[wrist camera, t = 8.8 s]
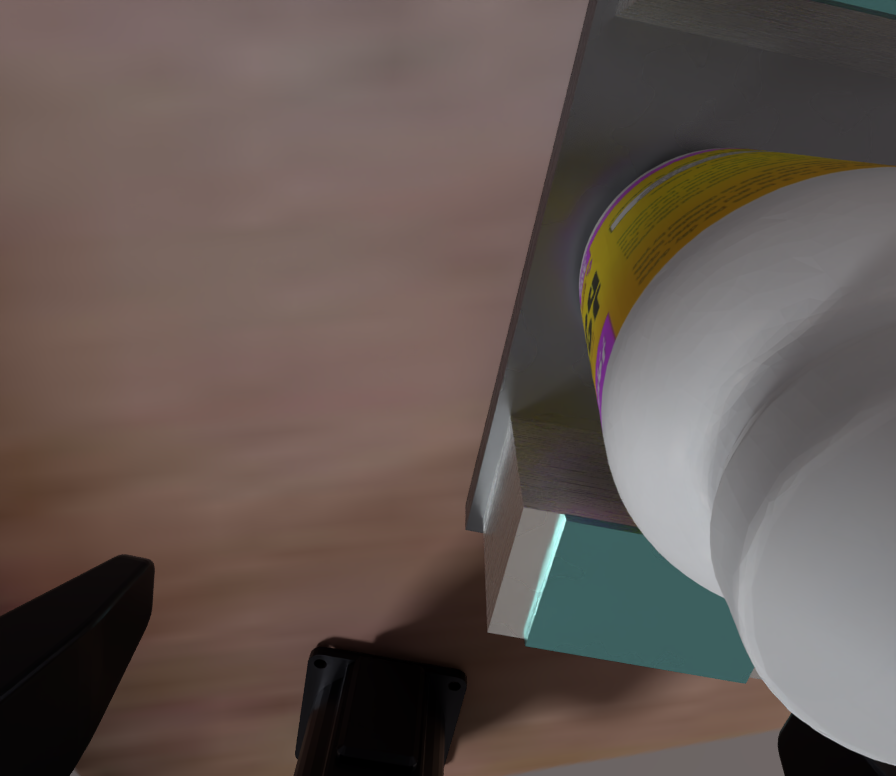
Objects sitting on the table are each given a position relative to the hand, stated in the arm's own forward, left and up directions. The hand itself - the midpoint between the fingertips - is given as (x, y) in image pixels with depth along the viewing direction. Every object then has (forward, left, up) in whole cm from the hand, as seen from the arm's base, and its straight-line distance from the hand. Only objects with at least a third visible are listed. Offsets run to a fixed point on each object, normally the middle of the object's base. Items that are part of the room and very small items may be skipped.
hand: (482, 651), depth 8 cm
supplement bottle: (+4, -6, -11) cm, 13 cm away
